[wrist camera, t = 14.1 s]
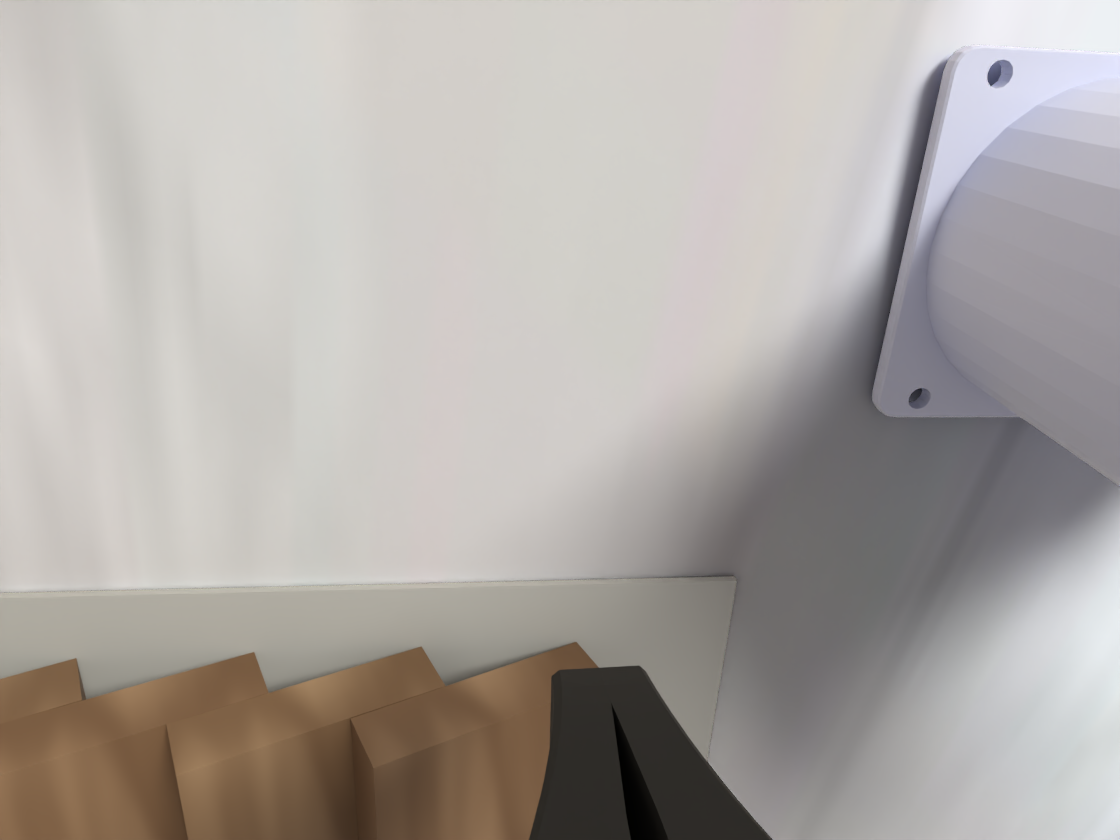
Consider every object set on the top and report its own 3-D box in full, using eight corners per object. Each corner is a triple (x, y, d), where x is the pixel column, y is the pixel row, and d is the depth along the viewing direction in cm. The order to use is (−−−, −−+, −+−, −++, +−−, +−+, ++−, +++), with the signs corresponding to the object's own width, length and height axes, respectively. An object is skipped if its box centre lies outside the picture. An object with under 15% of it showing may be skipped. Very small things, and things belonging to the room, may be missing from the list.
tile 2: (445, 685, 20) (176, 775, 18) (447, 827, 22) (204, 927, 20) (421, 646, 22) (165, 724, 19) (424, 783, 24) (194, 871, 21)
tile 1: (609, 680, 21) (373, 768, 18) (596, 818, 23) (381, 917, 20) (576, 641, 22) (350, 718, 19) (566, 776, 24) (360, 863, 21)
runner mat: (734, 575, 22) (737, 580, 22) (696, 808, 26) (698, 813, 25) (-198, 597, 19) (-204, 602, 19) (-98, 852, 23) (-102, 859, 23)
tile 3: (268, 693, 20) (-38, 787, 17) (285, 836, 22) (14, 941, 19) (254, 651, 21) (-34, 733, 18) (271, 791, 23) (14, 884, 20)
